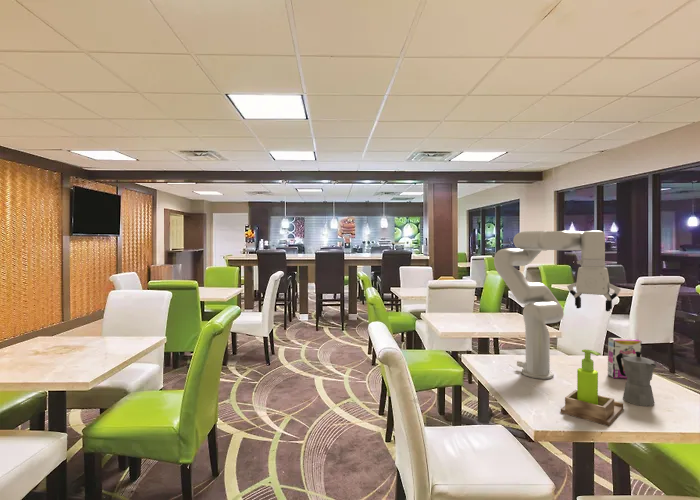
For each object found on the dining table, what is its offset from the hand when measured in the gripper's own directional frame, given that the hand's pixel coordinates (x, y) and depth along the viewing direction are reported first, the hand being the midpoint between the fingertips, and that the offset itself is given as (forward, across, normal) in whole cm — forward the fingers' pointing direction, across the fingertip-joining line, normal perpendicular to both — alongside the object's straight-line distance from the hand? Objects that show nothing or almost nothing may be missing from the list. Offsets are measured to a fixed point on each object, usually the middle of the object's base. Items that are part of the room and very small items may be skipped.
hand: (593, 309), depth 147 cm
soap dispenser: (+31, +4, -19) cm, 37 cm away
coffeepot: (+32, +12, +6) cm, 35 cm away
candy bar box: (+32, +3, +33) cm, 46 cm away
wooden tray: (+32, +4, -16) cm, 36 cm away
